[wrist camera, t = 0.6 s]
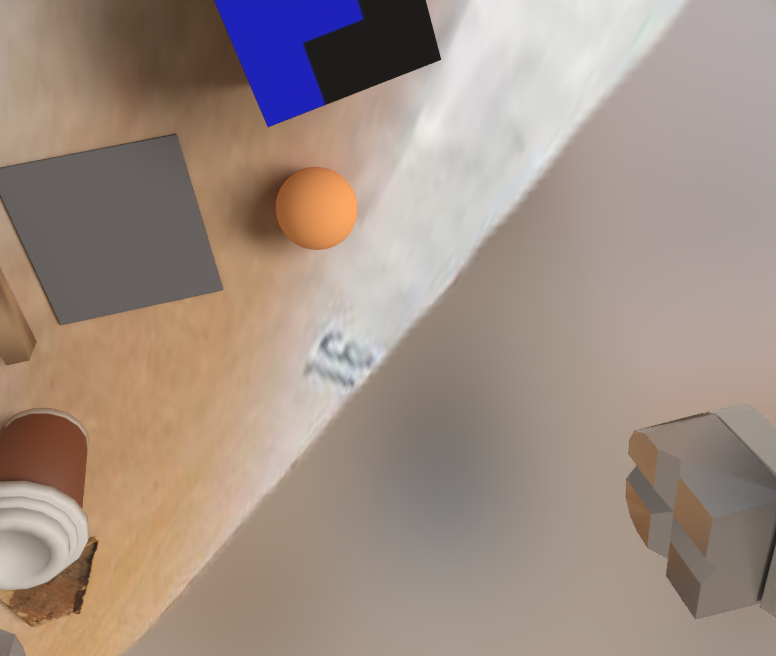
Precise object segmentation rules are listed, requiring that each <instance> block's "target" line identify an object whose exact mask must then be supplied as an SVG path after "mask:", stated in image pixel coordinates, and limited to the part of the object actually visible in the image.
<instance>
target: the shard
mask: <svg viewBox="0 0 776 656" xmlns="http://www.w3.org/2000/svg"><path fill="white" fill-rule="evenodd" d="M97 547H98V540H96V539H95V536H94V537H92V538H90V539H88V541H87V543H86V545H85V547H84V549H83V551H82V553H81V555H80V557H79V558H78V559H77V560H76V561H74V562H73V563H72V564H70V565H69V566H68V567H67V568H65V569H64V570H63V571H62V572H60V573H59V574H58V575H56V576H55V577H54V578H52V579H51V580H50V581H48V582H46V583H43V584H40V585H37V586H34V587H31V588H28V589H16V590H3V589H0V599H1V601H2V602H3V603H4V604H5V605H7V607H9V608H10V609H11V610H12V611H14V612H15V613H16V614H17V615H18V616H20V617H21V618H22V619H23V620H25V622H26V623H27V624H28V625H30V626H31V627H39V626H41V625H44V624H46V623H48V622H51V621H53V620H55V619H58V618H62V617H65V616H68V615H71V614H80V613H81V611H82V606H83V602H84V598H85V595H86V589H87V586H88V583H89V580H90V576H91V572H92V568H93V560H94V555H95V552H96V550H97Z"/></svg>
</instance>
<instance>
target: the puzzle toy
mask: <svg viewBox="0 0 776 656" xmlns="http://www.w3.org/2000/svg"><path fill="white" fill-rule="evenodd" d="M214 1H215V4H216V6H217V9H218V11H219V13H220V16H221V18H222V20H223V23H224V25H225V27H226V30H227V32H228V34H229V37H230V39H231V41H232V44H233V46H234V49H235V51H236V53H237V56H238V58H239V60H240V63H241V65H242V67H243V70H244V72H245V74H246V77H247V79H248V81H249V84H250V86H251V89H252V91H253V93H254V96H255V98H256V100H257V103H258V105H259V107H260V110H261V112H262V114H263V117H264V119H265V121H266V124H267V126H268V127H270V126H273V125H275V124H278V123H280V122H283V121H285V120H288V119H291V118H293V117H296V116H298V115H301V114H303V113H306V112H309V111H311V110H314V109H316V108H319V107H321V106H324V105H326V104H329V103H332V102H334V101H337V100H339V99H342V98H344V97H347V96H350V95H352V94H355V93H357V92H360V91H362V90H365V89H368V88H370V87H373V86H375V85H378V84H380V83H383V82H386V81H388V80H391V79H393V78H396V77H398V76H401V75H403V74H406V73H409V72H411V71H414V70H416V69H419V68H421V67H424V66H427V65H429V64H432V63H434V62H437V61H439V60H441V57H440V53H439V49H438V46H437V42H436V38H435V34H434V30H433V26H432V23H431V19H430V15H429V11H428V7H427V4H426V0H214Z"/></svg>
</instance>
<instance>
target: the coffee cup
mask: <svg viewBox="0 0 776 656" xmlns="http://www.w3.org/2000/svg"><path fill="white" fill-rule="evenodd" d="M87 449H88V434H87V431H86V430H85V428H84V427H83V425H82V424H81V422H80V421H79V420H77V419H76V418H74V417H73V416H71V415H70V414H68V413H66V412H62V411H59V410H55V409H51V408H33V409H30V410H27V411H24V412H21V413H18V414H16V415H15V416H14V417H13V418H12V419H10V420H9V421H8V422H7V423H6V425H5V428H4V430H3V432H2V434H1V436H0V589H3V590H16V589H28V588H31V587H34V586H37V585H40V584H43V583H46V582H48V581H50V580H51V579H52V578H54V577H55V576H56V575H58V574H59V573H60V572H62V571H63V570H64V569H65V568H67V567H68V566H69V565H70V564H72V563H73V562H74V561H76V560H77V559H78V558H79V557H80V555H81V553H82V551H83V549H84V547H85V545H86V543H87V541H88V538H89V527H88V518H87V515H86V514H85V512H84V511H83V510H82V505H83V494H84V483H85V471H86V460H87Z"/></svg>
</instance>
